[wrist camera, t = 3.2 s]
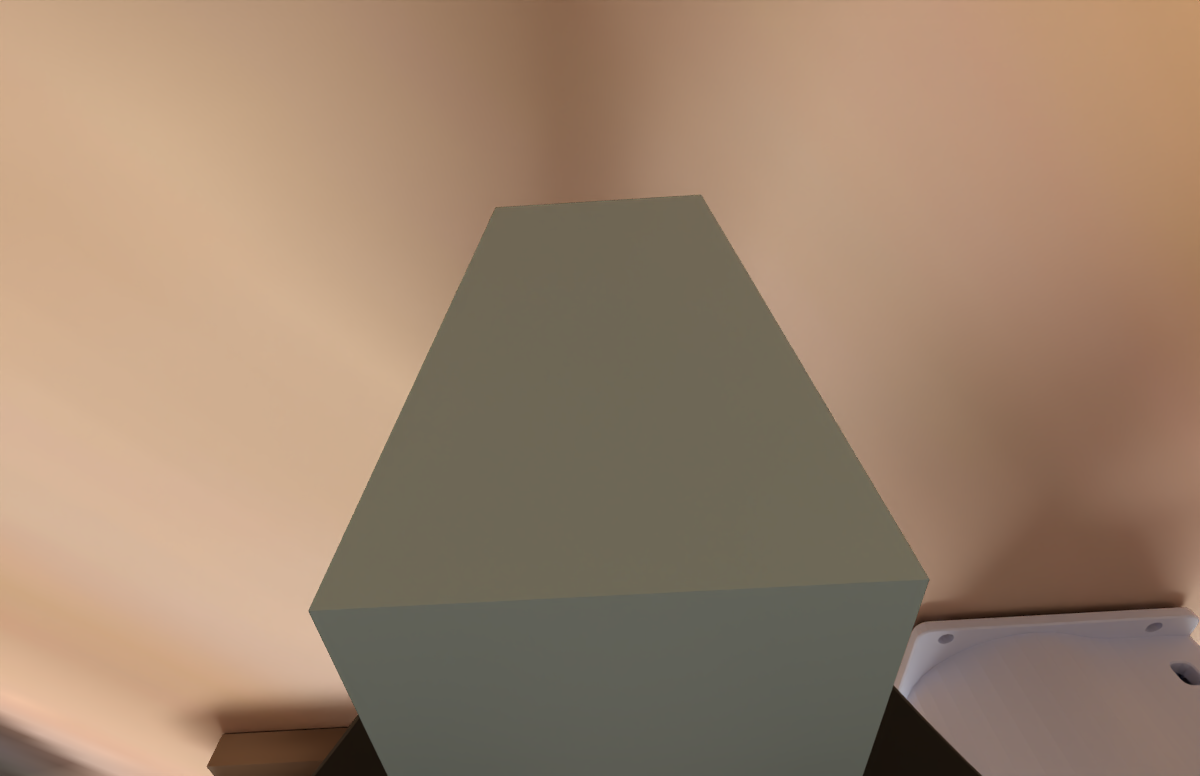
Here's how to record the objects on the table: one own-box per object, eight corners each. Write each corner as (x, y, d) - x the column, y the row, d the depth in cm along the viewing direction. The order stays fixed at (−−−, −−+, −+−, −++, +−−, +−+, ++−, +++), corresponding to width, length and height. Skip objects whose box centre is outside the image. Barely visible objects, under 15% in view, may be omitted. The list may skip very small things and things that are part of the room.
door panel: (495, 207, 9) (308, 611, 3) (701, 195, 9) (930, 578, 3) (559, 637, 14) (537, 1088, 8) (688, 630, 14) (759, 1079, 8)
